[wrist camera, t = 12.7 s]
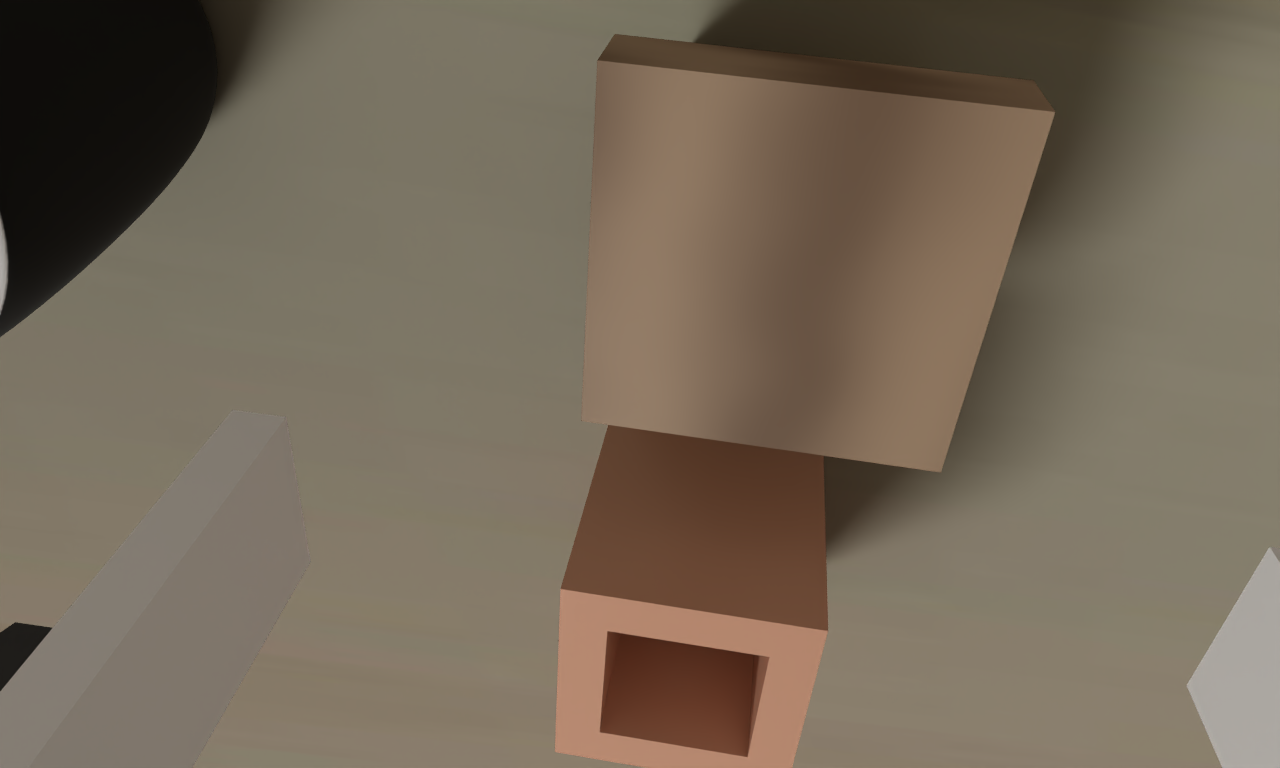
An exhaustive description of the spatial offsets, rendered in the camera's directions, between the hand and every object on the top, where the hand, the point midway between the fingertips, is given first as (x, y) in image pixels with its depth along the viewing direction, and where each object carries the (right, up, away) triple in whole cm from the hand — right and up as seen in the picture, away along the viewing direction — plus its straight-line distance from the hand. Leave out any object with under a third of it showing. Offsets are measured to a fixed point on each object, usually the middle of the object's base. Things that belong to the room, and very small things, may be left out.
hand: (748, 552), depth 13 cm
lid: (+2, +5, +8) cm, 10 cm away
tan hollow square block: (+1, -1, +18) cm, 18 cm away
